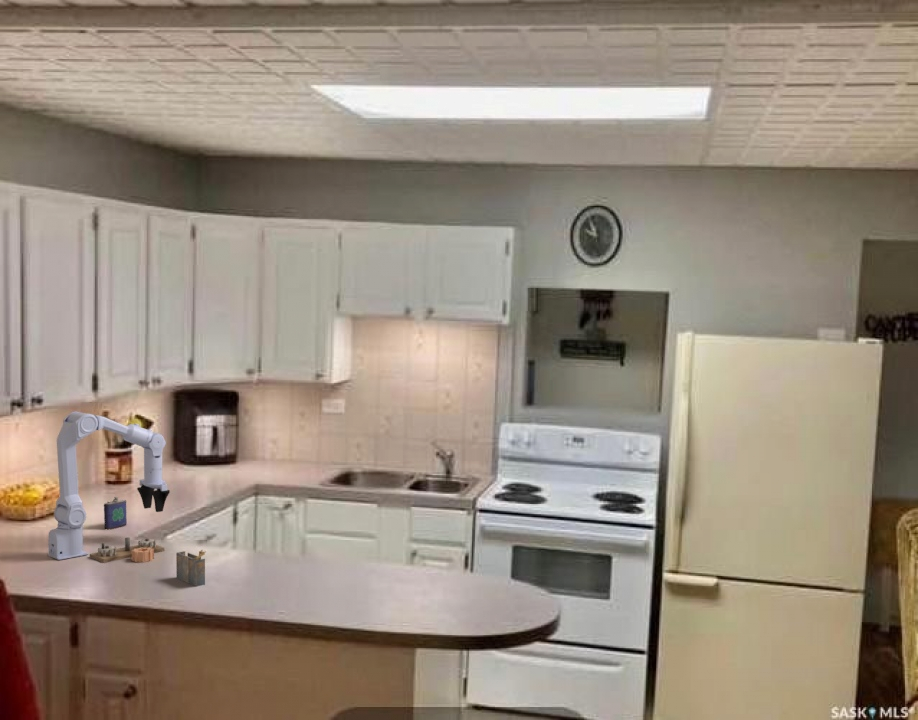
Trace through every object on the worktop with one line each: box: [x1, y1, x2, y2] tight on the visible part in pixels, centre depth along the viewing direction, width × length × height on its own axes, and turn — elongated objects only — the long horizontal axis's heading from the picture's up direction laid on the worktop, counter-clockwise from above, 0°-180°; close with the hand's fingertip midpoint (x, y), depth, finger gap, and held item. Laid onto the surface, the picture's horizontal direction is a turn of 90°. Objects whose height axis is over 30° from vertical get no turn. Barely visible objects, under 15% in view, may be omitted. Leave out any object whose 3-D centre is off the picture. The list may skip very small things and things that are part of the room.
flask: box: [103, 496, 128, 531], centre depth 330 cm, size 9×3×11 cm, turn 152°
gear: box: [131, 547, 155, 563], centre depth 288 cm, size 6×6×3 cm
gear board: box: [89, 537, 165, 563], centre depth 294 cm, size 20×9×5 cm, turn 137°
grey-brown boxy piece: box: [175, 549, 207, 587], centre depth 266 cm, size 11×3×10 cm, turn 44°
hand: (153, 509), depth 312 cm, fingers open, 7 cm apart
